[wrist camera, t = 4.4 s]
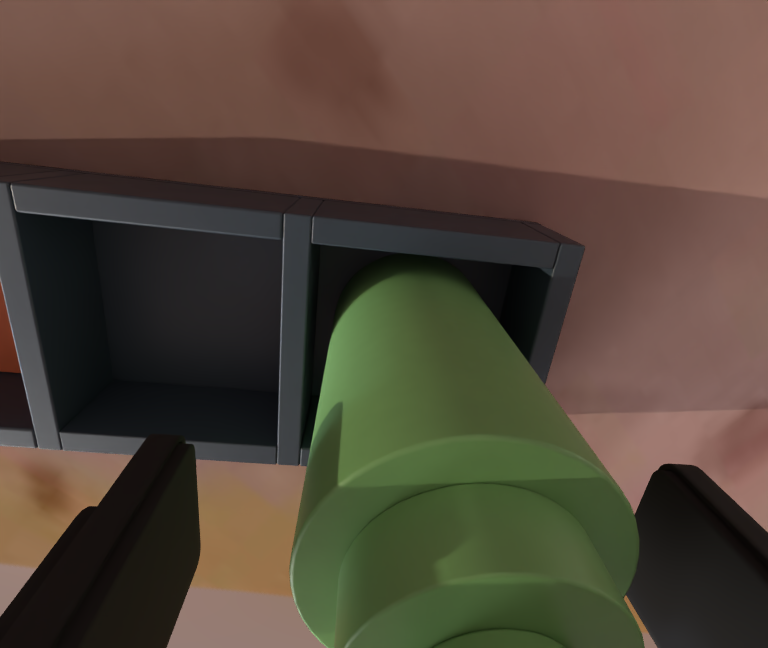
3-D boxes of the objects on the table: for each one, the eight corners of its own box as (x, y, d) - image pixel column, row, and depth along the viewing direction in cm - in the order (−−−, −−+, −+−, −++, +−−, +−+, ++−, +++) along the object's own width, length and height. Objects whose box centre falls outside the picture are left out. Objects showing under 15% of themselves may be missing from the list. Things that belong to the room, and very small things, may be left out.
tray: (537, 222, 17) (587, 245, 13) (489, 417, 20) (517, 480, 16) (-182, 140, 15) (-369, 140, 11) (-102, 372, 18) (-223, 432, 14)
